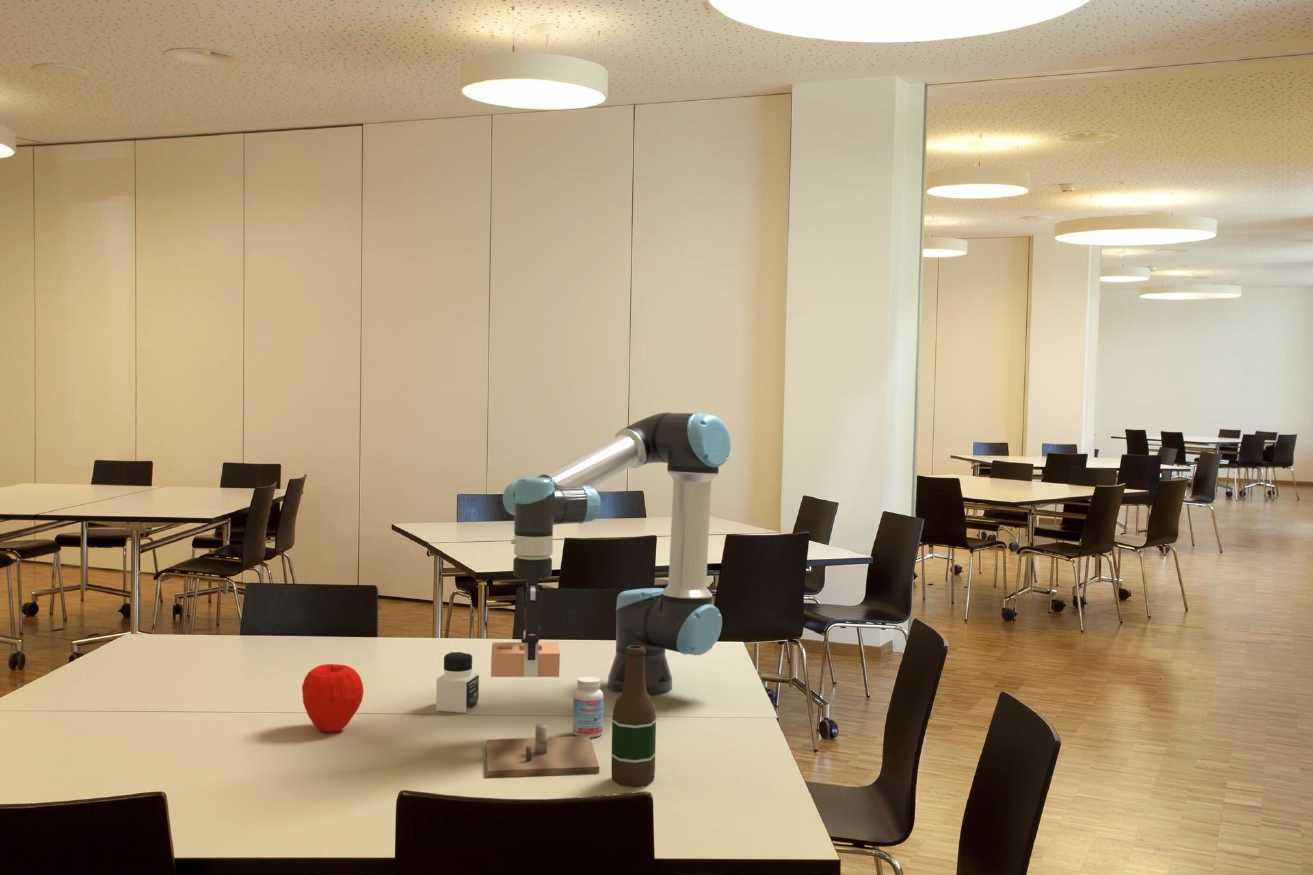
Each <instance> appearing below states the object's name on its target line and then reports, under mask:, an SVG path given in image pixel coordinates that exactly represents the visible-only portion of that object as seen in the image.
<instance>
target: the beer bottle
mask: <svg viewBox="0 0 1313 875" xmlns="http://www.w3.org/2000/svg"><path fill="white" fill-rule="evenodd" d="M625 653H626V665H625V678H624V686H623V691H622V693H620V695H619V696H618V698H617V699H616V701H615V703H614V706H613V708H612V718H611V720H612V721H611V762H610V763H611V764H610V765H611V769H610V771H611V779H612V782H614V783H615V784H617V785H619V786H620V787H627V788H639V787H645V786H649V785H650V784H651V783H652V782H653V781H654V779H655V773H656V743H657V742H656V740H657V739H656V738H657V737H656V736H657V735H656V733H657V732H656V730H657V716H656V715H657V714H656V707H655V704H654V702H653V701H654V700H653V699H652V697H651V695H649V694H648V693H647V690H646V684H645V663H644V654H645V653H646V650H645V647H642V646H640V645H630V646H628V647H626V649H625Z"/></svg>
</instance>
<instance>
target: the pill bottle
mask: <svg viewBox="0 0 1313 875" xmlns="http://www.w3.org/2000/svg"><path fill="white" fill-rule="evenodd" d="M576 681H577V684H576V685H577V689H576V690H575V691H574V692H573V700H572V701H573V707H572V709H573V711H572V712H573V713H572V734H574V736H575V737H581V736H589V737H590V739H591V738H597V737H600V736H602V734H603V731H604V730H603V729H604V693H603V691H602V689H600V687H601V678H599V677H597V676H589V675H588V676H581V677H578V678H577V680H576Z"/></svg>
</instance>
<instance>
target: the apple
mask: <svg viewBox="0 0 1313 875" xmlns="http://www.w3.org/2000/svg"><path fill="white" fill-rule="evenodd" d="M303 679H304V680H303V683H302V685H301V690H302V692H301V693H302V701H303V706H304V709H305V711H306V714H307V716H308V718H309V720H310V721H311V723H312V725H313V726H314V727H315V728H316V729H317V730H318V731H320V732H322V733H329V734H333V733H338V732H339V731H340V732H341V731H342V730H343V729H344V728H345V727H347V725H348V724H349V723H350V721H351V720H352V718H353V717H354V715H355V714H356V712H358V710H359V707H360V705H361V704H362V702H363V697H364V693H365V692H364V684H363V681H362V679H361V676H360V674H359V672H357V671H356V669H354V668H353V667H350V666H349V665H346V664H345V665H344V664H337V663H329V664H328V663H327V664H319V665H317V666H315V667H314V668H312V669H311V670H309V671H308V673H307V674H306V676H305V677H304V678H303Z"/></svg>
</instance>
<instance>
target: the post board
mask: <svg viewBox="0 0 1313 875" xmlns="http://www.w3.org/2000/svg"><path fill="white" fill-rule="evenodd" d="M486 766H487V767H486V769H487V770H486V771H487V772H486V773H487V778H501V777H502V778H505V777H507V778H509V777H531V776H534V777H536V776H558V775H559V776H561V775H584V774H587V775H588V774H600V765H599V760H598V758H597V755H596V753H595V749H594V745H593V743H592V739H591V738H590V737H589V736H581V737H578V736H556V737H555V736H554V737H553V736H551V737H548V725H547V724H537V725H535V737H530V738H529V737H526V738H525V737H523V738H522V737H521V738H498V739H497V738H493V739H486Z"/></svg>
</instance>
